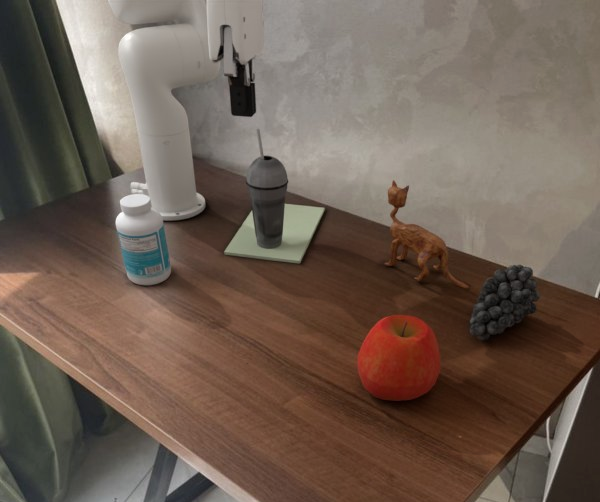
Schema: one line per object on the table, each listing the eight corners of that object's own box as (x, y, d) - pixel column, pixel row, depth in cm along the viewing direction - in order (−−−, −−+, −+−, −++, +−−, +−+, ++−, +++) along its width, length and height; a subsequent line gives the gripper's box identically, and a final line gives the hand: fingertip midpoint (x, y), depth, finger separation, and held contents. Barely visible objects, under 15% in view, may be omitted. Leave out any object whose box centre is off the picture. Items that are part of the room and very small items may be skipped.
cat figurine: (478, 287, 101) (496, 208, 91) (456, 302, 97) (473, 222, 88) (392, 250, 110) (401, 175, 101) (369, 263, 106) (376, 187, 97)
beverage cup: (288, 252, 108) (287, 137, 94) (247, 252, 108) (240, 136, 94) (289, 233, 113) (288, 122, 100) (251, 233, 113) (244, 121, 100)
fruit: (495, 300, 81) (547, 257, 89) (443, 295, 87) (495, 255, 95) (501, 356, 85) (549, 310, 93) (450, 348, 91) (500, 305, 99)
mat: (224, 254, 108) (223, 251, 108) (258, 203, 124) (258, 200, 124) (299, 263, 106) (299, 260, 106) (324, 210, 122) (324, 207, 121)
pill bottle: (146, 261, 106) (132, 186, 97) (180, 271, 104) (169, 195, 95) (118, 280, 102) (100, 203, 92) (153, 291, 99) (138, 214, 90)
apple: (382, 423, 76) (391, 358, 69) (339, 375, 83) (343, 310, 76) (451, 397, 80) (466, 332, 73) (404, 353, 87) (413, 289, 80)
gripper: (224, -54, 79) (234, 97, 91) (182, -40, 68) (200, 129, 80) (279, -52, 78) (282, 101, 90) (245, -39, 67) (254, 134, 79)
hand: (243, 114), depth 85 cm, fingers closed
